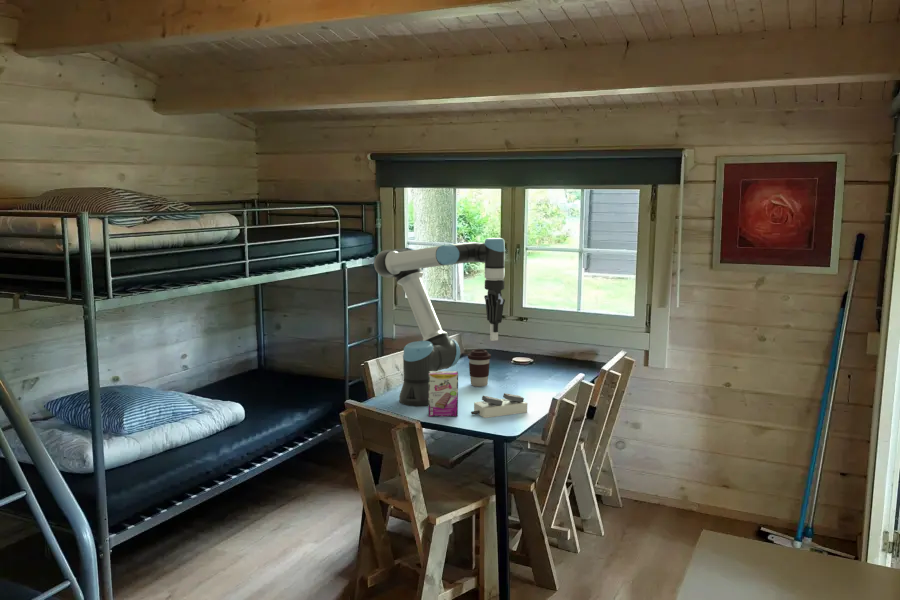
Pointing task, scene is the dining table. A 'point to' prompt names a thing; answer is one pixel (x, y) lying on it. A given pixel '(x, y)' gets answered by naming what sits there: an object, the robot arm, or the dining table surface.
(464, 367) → the dining table surface
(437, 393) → the candy bar box
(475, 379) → the coffee cup
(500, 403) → the rocker
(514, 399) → the rocker
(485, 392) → the dining table surface
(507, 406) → the power strip
